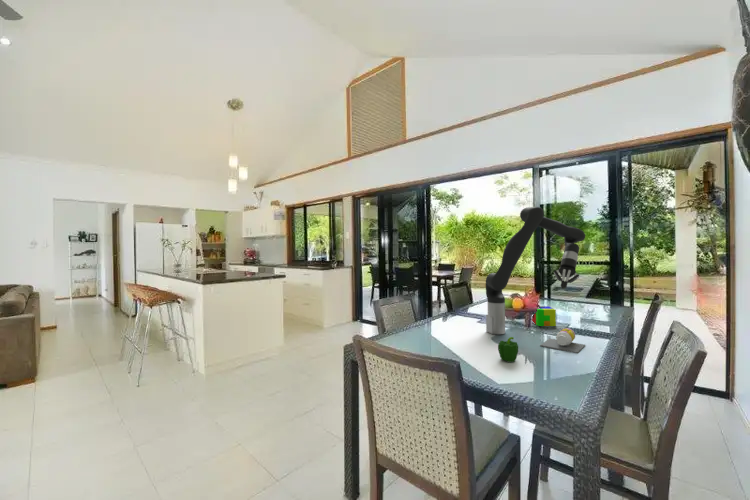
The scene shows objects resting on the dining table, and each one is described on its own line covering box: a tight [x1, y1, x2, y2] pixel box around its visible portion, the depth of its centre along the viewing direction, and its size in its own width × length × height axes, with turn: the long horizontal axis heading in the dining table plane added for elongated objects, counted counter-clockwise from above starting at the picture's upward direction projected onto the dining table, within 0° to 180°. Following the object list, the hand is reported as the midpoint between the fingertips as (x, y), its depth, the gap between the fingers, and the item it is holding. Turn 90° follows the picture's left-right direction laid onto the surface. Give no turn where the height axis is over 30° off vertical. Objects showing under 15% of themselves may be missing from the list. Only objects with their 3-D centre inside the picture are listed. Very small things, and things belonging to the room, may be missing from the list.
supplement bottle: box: [555, 327, 576, 346], centre depth 164 cm, size 7×7×13 cm
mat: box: [539, 338, 586, 354], centre depth 164 cm, size 14×16×1 cm
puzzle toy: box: [531, 305, 557, 327], centre depth 204 cm, size 10×10×10 cm
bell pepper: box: [497, 336, 519, 363], centre depth 146 cm, size 8×8×10 cm
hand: (563, 288), depth 183 cm, fingers closed
